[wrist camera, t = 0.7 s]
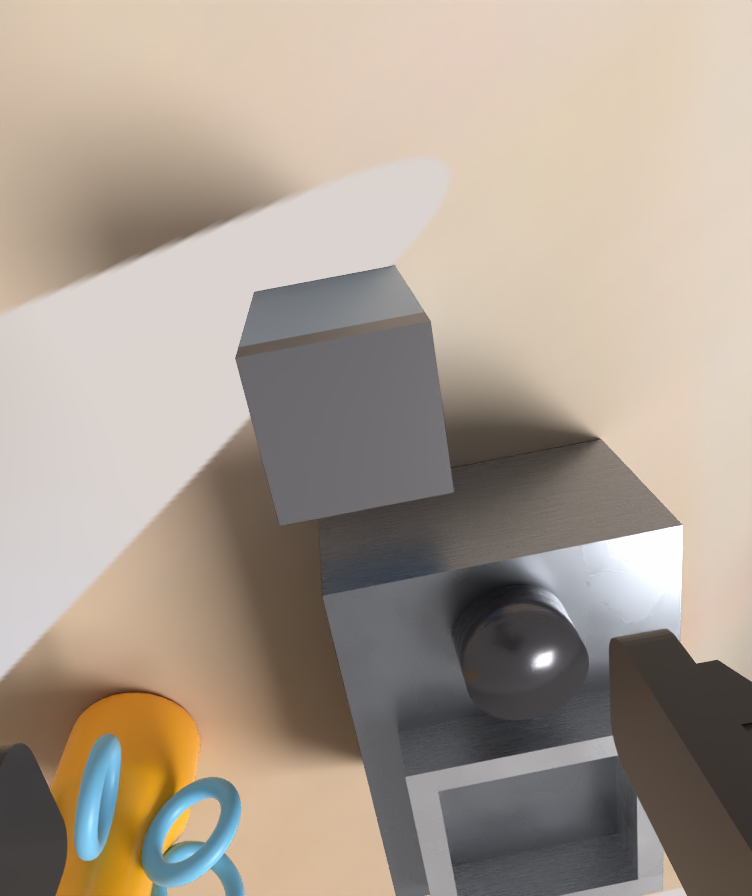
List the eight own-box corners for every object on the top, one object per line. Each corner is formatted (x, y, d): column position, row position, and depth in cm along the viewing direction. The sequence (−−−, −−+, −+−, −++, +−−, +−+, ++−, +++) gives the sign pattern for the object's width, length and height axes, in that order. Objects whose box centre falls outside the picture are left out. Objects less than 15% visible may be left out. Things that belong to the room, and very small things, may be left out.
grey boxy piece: (318, 493, 29) (324, 636, 21) (601, 438, 30) (714, 558, 21) (380, 765, 36) (403, 951, 28) (610, 718, 36) (699, 890, 28)
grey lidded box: (254, 291, 26) (235, 358, 19) (394, 265, 26) (430, 321, 19) (285, 421, 28) (279, 526, 21) (414, 396, 28) (454, 492, 21)
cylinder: (190, 606, 31) (103, 980, 18) (302, 755, 35) (302, 1147, 22) (-44, 715, 32) (-293, 1142, 19) (92, 846, 37) (-31, 1270, 23)
